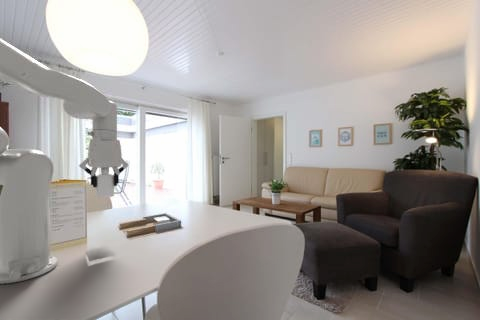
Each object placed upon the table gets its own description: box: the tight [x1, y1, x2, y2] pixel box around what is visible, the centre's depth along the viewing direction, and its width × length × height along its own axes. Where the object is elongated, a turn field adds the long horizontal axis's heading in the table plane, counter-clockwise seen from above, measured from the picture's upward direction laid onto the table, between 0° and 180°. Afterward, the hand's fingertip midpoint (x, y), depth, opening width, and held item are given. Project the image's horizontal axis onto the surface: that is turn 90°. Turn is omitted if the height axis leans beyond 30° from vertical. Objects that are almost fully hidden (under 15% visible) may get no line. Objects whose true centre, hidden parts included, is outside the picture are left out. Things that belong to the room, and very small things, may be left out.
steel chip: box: [153, 216, 170, 225], centre depth 95 cm, size 6×5×3 cm
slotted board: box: [117, 218, 185, 240], centre depth 92 cm, size 20×20×3 cm
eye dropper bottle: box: [95, 167, 115, 199], centre depth 81 cm, size 4×6×12 cm
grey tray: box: [142, 212, 182, 232], centre depth 95 cm, size 16×10×2 cm, turn 40°
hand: (105, 185), depth 81 cm, fingers closed on eye dropper bottle, 5 cm apart
